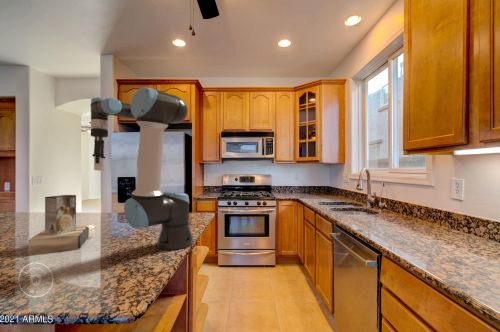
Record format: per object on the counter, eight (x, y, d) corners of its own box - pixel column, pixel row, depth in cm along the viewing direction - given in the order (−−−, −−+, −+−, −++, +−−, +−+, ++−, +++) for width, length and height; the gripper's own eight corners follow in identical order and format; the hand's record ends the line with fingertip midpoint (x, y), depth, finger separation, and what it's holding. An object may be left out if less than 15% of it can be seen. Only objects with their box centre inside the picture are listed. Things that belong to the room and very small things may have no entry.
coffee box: (65, 229, 109) (65, 194, 109) (76, 230, 108) (76, 194, 108) (43, 234, 100) (44, 196, 100) (56, 235, 99) (56, 196, 99)
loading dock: (80, 249, 100) (80, 234, 100) (28, 255, 92) (28, 239, 93) (88, 238, 116) (88, 225, 116) (45, 242, 109) (45, 229, 109)
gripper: (94, 132, 130) (93, 170, 130) (86, 123, 108) (86, 170, 108) (109, 133, 134) (109, 170, 133) (105, 125, 112) (105, 170, 111)
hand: (99, 170), depth 120 cm, fingers open, 13 cm apart
